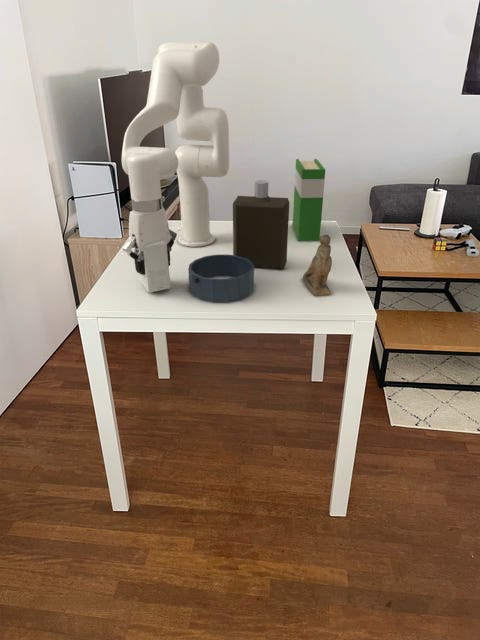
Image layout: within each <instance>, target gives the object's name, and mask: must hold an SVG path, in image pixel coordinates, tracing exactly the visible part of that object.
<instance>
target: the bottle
mask: <svg viewBox="0 0 480 640" xmlns="http://www.w3.org/2000/svg"><path fill="white" fill-rule="evenodd" d="M289 219H290V200H289V197H276V196H269V181H268V180H262V179H261V180H255V181H254V195H252V196H250V195H238V196H237V197H236V198H235V200H234V201H233V203H232V252H233V253H232V255H235V256H240V257H243V258H248V259H249V260H250V261H251V262H252V263H253V264H254V269H255V268H256V269H271V270H284V268H285V267H286V265H287V261H288V243H289V242H288V241H289V221H290V220H289Z"/></svg>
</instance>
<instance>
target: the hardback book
mask: <svg viewBox="0 0 480 640" xmlns="http://www.w3.org/2000/svg"><path fill="white" fill-rule="evenodd" d="M294 170H295V171H294V172H295V173H294V189H293V190H294V191H293V209H292V228H293V231H294V234H295V236H296V239H297V241H298V242H320V238H321V228H322V219H323V218H322V217H323V205H324V204H323V203H324V194H325V193H324V191H325V180H326V168H325V167H324V166H323V165H322V164H321V162H320V161H319V160H318V159H317V158H313V160H312V161H311V160H308V161H304V160H303V161H301V160H300V159H299V158H296V159H295V169H294Z"/></svg>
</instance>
